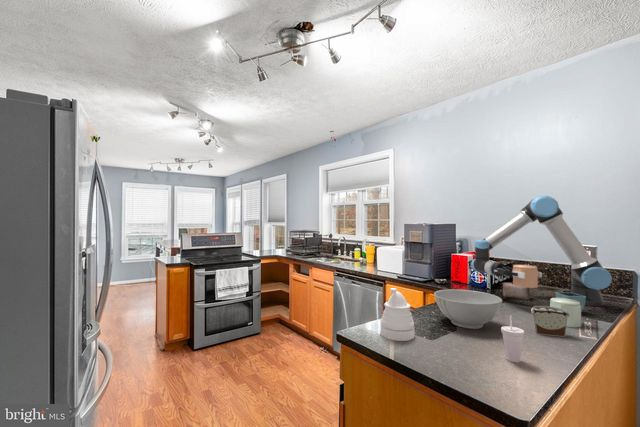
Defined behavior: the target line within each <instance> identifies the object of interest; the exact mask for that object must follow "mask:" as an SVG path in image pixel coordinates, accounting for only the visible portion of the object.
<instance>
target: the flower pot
mask: <svg viewBox="0 0 640 427" xmlns="http://www.w3.org/2000/svg"><path fill="white" fill-rule="evenodd" d="M555 298H566V299H572V300H576V301H579V302H580V305H581V312H583V310H584V309H585V306H586V305H585V301H586V297H585V296H582V295H579V294H576V293H570V292H566V291H565V292H562V291H561V292H560V291H558V292H557V291H555Z"/></svg>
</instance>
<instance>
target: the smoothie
mask: <svg viewBox="0 0 640 427" xmlns="http://www.w3.org/2000/svg"><path fill="white" fill-rule="evenodd" d="M512 316H513V315H509V325H507V326H506V325H505V326H501V328H500V331H501V334H502V340H503V345H504V346H503V347H504V352H505V353H504V354H505V358H506V359H505V360H507V361H509V362H512V363H520V362H521V357H522V355H521V354H522V349H523V348H522V347H523V340H524V336H525V331H524V330H523V329H522V328H519V327H516V326H513V320H512V319H513V317H512Z"/></svg>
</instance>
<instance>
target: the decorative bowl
mask: <svg viewBox="0 0 640 427" xmlns="http://www.w3.org/2000/svg"><path fill="white" fill-rule="evenodd" d="M433 295H434V296H433V297H434V300H435V302H436V304H437V307H438V308H439V310H440V311H441V312H442V314H443V315H444V316H445V317H446V318H447V319H449V320H450V322H451V324H453V325H455V326H457V327H460V328H463V329H471V330H472V329H475V330H476V329H482V328H483V326H484V325H485V324H488V323H489V322H491V321H492V320H493V319H494V318H495V317H496V316H497V315H498V313H499V311H501V307H502V304H503V299H502V298H501V297H500V296H498V295H495V294H491V293H487V292H483V291H478V290H470V289H469V290H468V289H460V288H459V289H440V290H436V291H435V292H434V293H433Z"/></svg>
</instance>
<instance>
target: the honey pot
mask: <svg viewBox="0 0 640 427" xmlns="http://www.w3.org/2000/svg"><path fill="white" fill-rule="evenodd" d="M389 291H390V293H391V295H390V297H389V298H388V301H386V302H385V303H384V304H383V306H384V307H385V308H384V310H383V313H382V315H381V316H382V317H381V319H380V335H381V336H382V337H383V338H386V339H388V340H391V341H399V342H405V341H411V340H413V339H414V338H415V322H414V320H413V316H412V312H411V310H410V308H411V304H410V303H408V302H407V300H406V298H405V296H404V295H403V294H402V293H401V292H400V291H398V289H397V288H394V287H391V288H390V289H389Z"/></svg>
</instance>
